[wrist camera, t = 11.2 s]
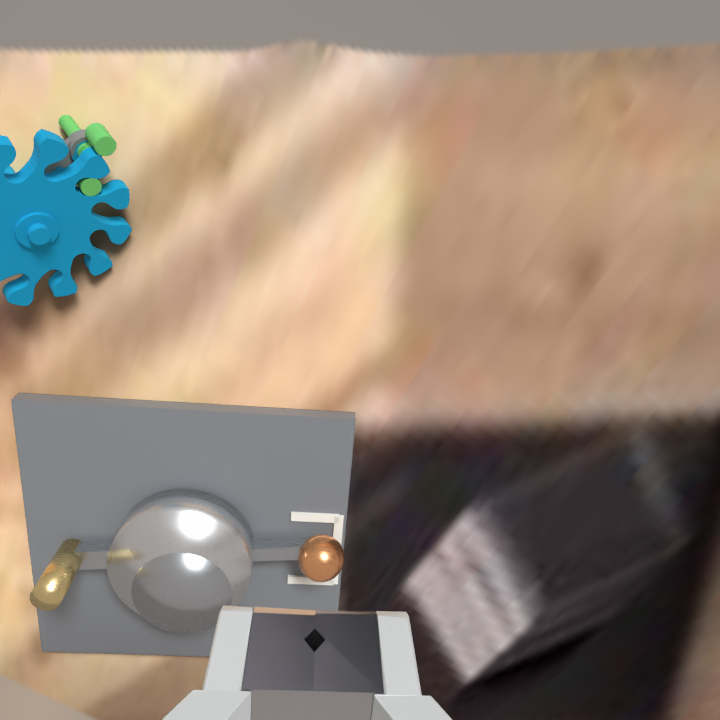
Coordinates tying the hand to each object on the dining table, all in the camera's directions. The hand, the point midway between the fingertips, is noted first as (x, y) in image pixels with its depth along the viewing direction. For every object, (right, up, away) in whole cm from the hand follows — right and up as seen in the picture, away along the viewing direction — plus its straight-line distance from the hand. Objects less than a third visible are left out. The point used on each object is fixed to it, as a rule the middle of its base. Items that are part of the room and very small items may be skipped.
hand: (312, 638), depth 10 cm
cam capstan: (-10, -8, +33) cm, 35 cm away
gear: (-16, +13, +26) cm, 33 cm away
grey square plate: (-11, -7, +34) cm, 36 cm away
